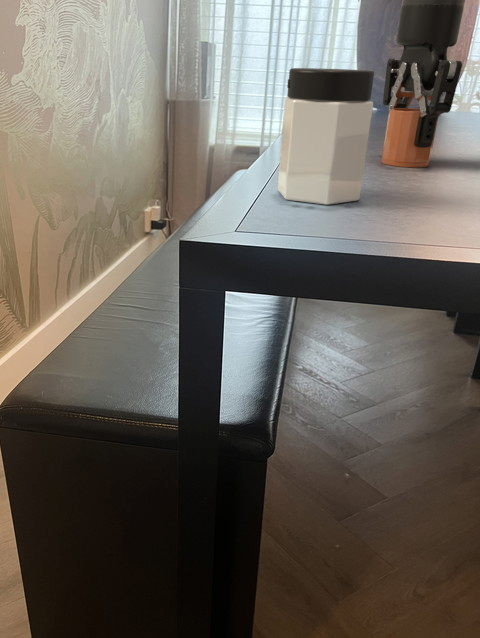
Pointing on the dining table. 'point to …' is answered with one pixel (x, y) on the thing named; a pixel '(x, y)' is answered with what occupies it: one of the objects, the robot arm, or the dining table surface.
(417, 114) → the pot
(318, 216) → the dining table surface
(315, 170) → the jar
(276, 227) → the dining table surface
